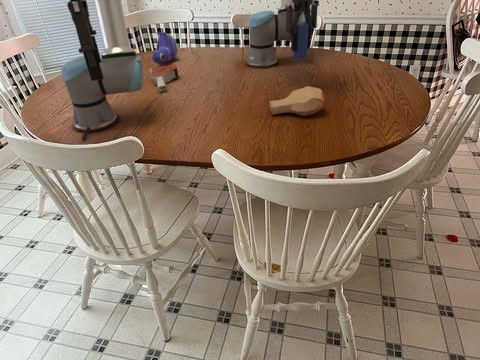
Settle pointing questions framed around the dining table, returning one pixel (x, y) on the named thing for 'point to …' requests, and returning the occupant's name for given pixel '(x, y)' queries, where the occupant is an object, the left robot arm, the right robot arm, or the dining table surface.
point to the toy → (164, 49)
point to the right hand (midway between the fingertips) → (300, 49)
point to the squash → (300, 102)
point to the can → (301, 40)
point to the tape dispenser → (163, 76)
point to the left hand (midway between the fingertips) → (97, 70)
